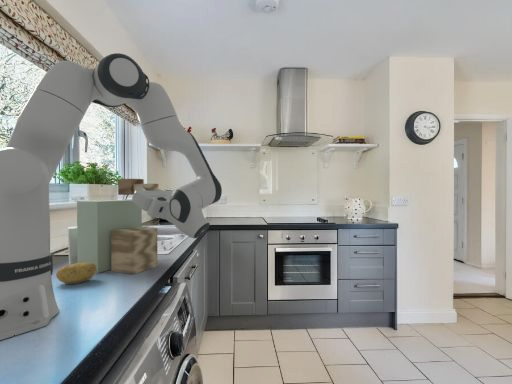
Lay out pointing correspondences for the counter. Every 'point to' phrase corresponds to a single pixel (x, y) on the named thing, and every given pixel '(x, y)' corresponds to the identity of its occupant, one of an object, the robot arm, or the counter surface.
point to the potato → (76, 272)
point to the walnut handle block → (133, 186)
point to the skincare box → (72, 244)
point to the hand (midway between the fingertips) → (146, 188)
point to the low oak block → (133, 249)
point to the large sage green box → (102, 228)
